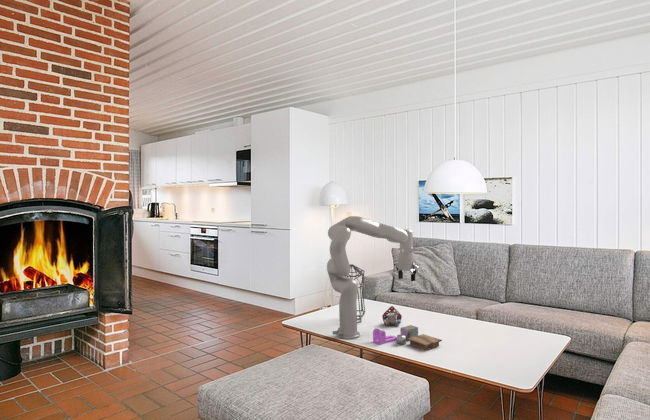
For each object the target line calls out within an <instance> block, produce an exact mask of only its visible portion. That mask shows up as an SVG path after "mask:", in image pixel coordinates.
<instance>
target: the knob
mask: <svg viewBox="0 0 650 420" xmlns="http://www.w3.org/2000/svg"><path fill="white" fill-rule="evenodd" d="M396 337H397V340H396V344H397V345H398V344H399V345H400V346H405V345H406V344H407V341H406V336H405V335H401V334H397V335H396ZM399 345H398V346H399Z"/></svg>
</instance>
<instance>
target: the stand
mask: <svg viewBox="0 0 650 420" xmlns="http://www.w3.org/2000/svg"><path fill="white" fill-rule="evenodd" d="M407 340H409V341H408V342H409V345H410V346H412V347H415V348H418V349H422V350H424V351H425V350H430V349H434V348H436V347H439V346H440V343H441V342H442V341H443V340H442V339H440V338H436V337H434V336H430V335H428V334H424V333H423V334H418V336H415V337H411V338H408V339H407Z"/></svg>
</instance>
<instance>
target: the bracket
mask: <svg viewBox="0 0 650 420" xmlns="http://www.w3.org/2000/svg"><path fill="white" fill-rule="evenodd" d="M395 341H396V342H397V335H391V334H390V335H387V332H386V331H385V330H382V329H381V330H380V328H377V327H375V328H374V329H373V331H372V342H373V343H375V344H378V345H379V346H380V345H385V344H389V343H392V342H393V343H394V342H395Z"/></svg>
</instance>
